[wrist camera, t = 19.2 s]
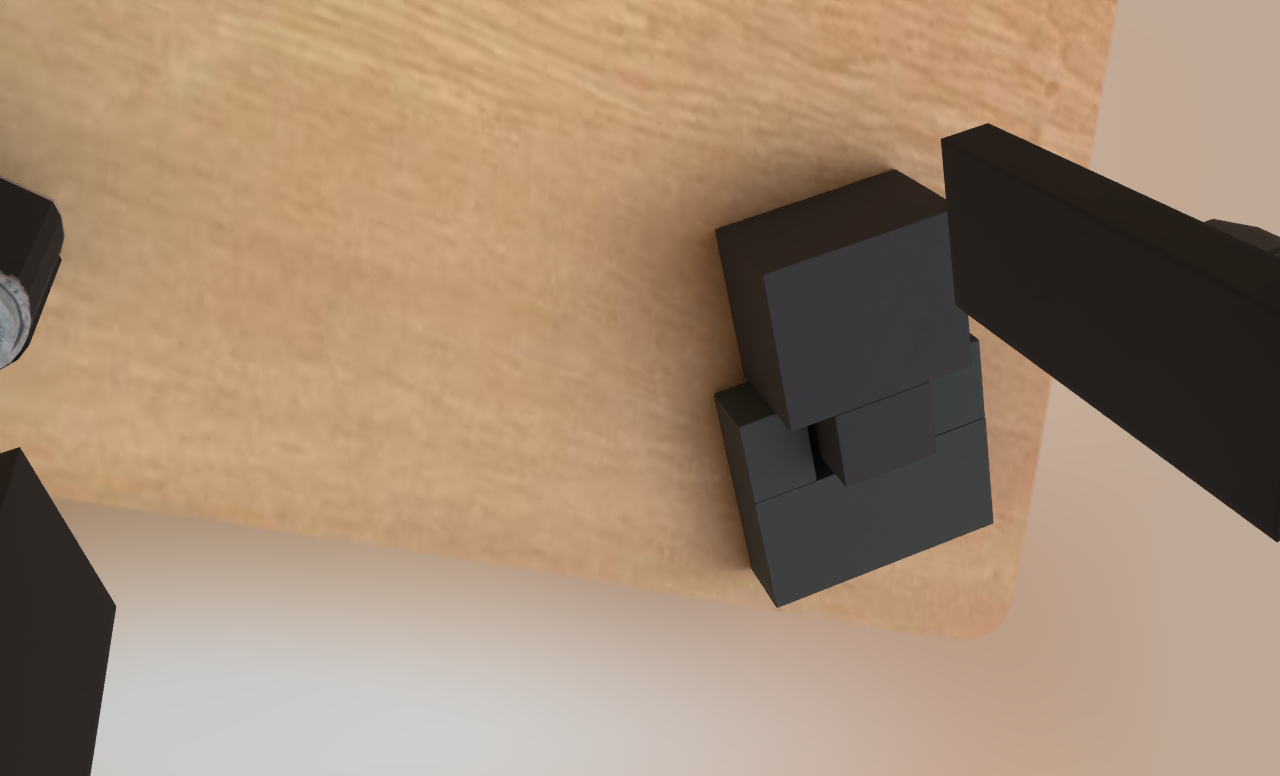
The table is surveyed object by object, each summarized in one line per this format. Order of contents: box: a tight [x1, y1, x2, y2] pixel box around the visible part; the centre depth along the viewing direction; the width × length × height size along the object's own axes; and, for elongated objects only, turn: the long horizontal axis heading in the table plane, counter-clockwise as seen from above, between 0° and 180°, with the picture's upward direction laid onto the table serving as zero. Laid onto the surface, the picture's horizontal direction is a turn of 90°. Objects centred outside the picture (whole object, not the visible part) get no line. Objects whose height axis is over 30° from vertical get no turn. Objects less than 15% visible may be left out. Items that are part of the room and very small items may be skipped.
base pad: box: [714, 333, 993, 608], centre depth 52 cm, size 11×10×3 cm
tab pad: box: [715, 170, 972, 487], centre depth 47 cm, size 8×11×5 cm
